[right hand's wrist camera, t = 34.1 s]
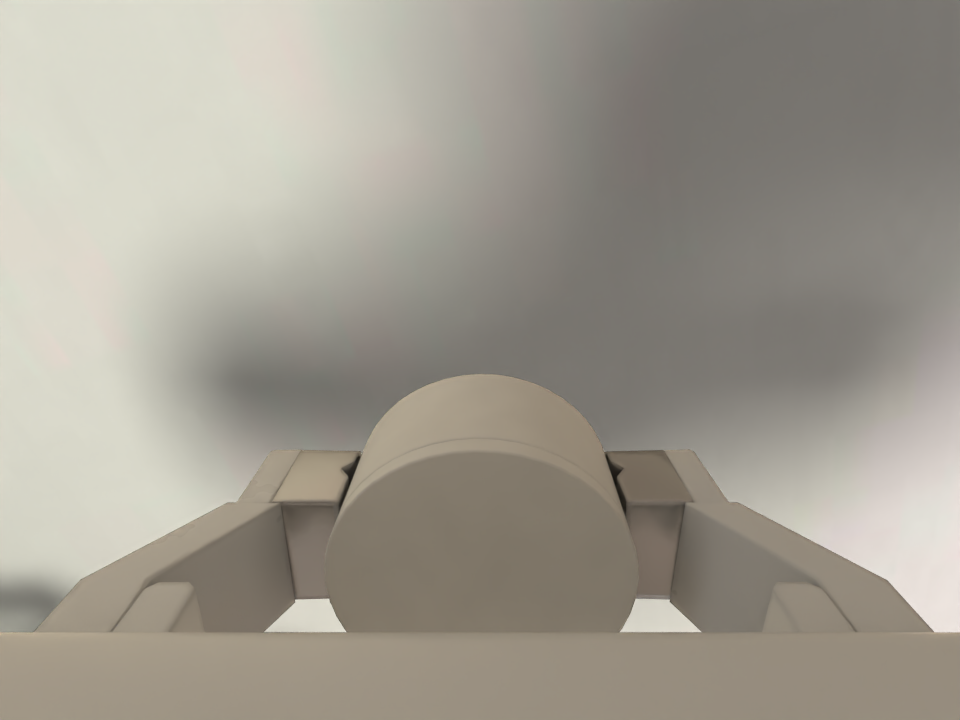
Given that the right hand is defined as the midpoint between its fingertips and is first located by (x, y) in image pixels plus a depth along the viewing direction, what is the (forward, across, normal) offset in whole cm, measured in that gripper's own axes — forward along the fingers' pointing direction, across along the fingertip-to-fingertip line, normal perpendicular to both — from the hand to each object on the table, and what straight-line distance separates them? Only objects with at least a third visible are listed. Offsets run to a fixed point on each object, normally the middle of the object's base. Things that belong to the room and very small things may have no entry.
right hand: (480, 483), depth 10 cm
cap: (-2, 0, 0) cm, 2 cm away
